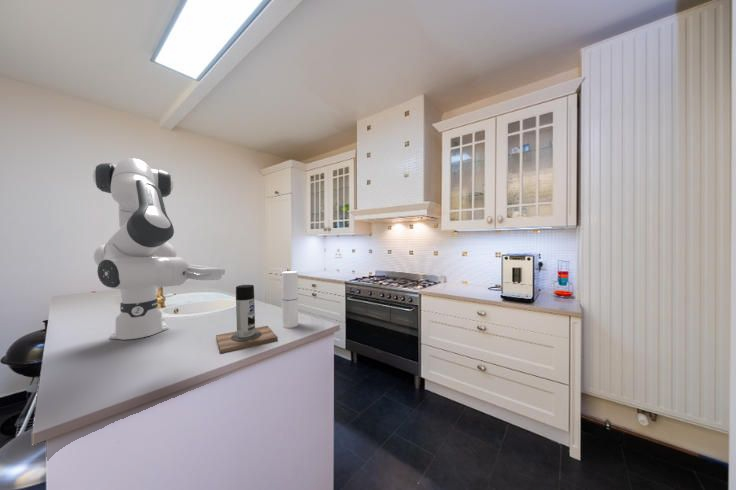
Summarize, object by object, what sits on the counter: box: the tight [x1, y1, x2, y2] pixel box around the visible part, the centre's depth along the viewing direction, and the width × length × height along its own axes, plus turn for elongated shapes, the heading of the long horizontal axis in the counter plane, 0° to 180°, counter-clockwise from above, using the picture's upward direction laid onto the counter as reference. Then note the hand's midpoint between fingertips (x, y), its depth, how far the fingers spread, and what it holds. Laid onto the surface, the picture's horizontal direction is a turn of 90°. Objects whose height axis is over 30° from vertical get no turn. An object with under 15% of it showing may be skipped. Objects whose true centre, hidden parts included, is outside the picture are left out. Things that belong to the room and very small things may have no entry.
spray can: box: [235, 284, 256, 338], centre depth 104 cm, size 7×7×20 cm
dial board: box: [215, 325, 278, 354], centre depth 104 cm, size 16×20×2 cm
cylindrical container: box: [281, 270, 299, 329], centre depth 121 cm, size 7×7×25 cm
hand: (213, 270), depth 92 cm, fingers open, 8 cm apart
